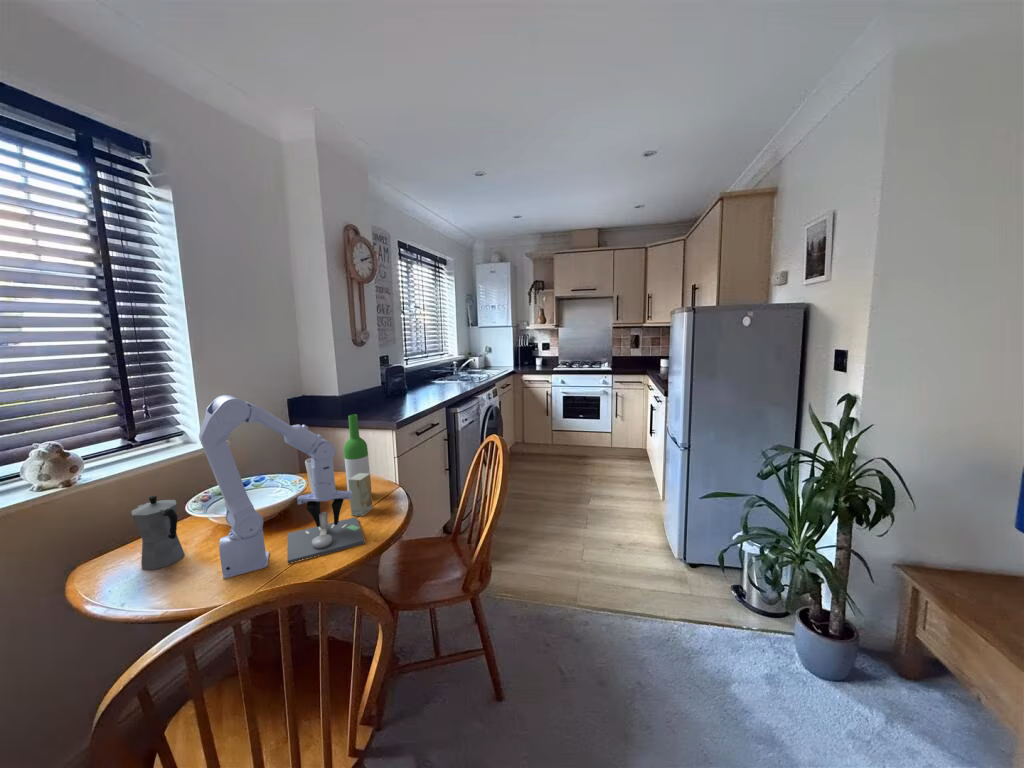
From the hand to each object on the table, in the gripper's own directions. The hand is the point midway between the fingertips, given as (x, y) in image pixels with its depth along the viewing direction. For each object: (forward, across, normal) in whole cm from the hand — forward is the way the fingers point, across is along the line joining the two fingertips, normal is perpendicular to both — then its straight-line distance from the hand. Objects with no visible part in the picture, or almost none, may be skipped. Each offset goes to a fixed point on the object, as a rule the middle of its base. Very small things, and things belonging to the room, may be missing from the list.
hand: (328, 524), depth 118 cm
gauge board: (+3, 0, +3) cm, 4 cm away
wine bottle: (+3, -4, -25) cm, 25 cm away
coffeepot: (+4, +40, +5) cm, 40 cm away
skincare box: (+3, -7, -13) cm, 15 cm away
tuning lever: (+2, +1, +3) cm, 4 cm away
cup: (+3, +12, -35) cm, 37 cm away
